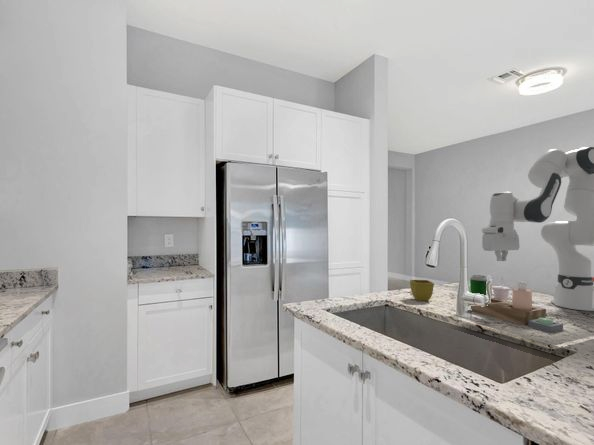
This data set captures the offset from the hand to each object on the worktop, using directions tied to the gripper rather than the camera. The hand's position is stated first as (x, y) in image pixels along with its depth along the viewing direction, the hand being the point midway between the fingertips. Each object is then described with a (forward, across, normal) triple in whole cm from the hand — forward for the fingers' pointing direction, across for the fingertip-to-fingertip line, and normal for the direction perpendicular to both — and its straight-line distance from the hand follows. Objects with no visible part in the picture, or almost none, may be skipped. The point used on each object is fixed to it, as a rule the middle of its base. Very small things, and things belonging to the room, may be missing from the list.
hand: (501, 261), depth 140 cm
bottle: (+20, +12, +15) cm, 28 cm away
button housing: (+21, +15, +25) cm, 36 cm away
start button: (+20, +15, +25) cm, 35 cm away
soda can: (+21, -7, -15) cm, 27 cm away
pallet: (+21, +12, +9) cm, 26 cm away
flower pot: (+21, +18, -27) cm, 39 cm away
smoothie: (+21, 0, 0) cm, 21 cm away
